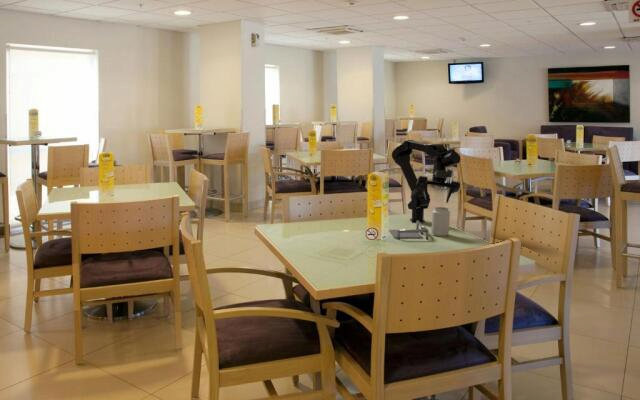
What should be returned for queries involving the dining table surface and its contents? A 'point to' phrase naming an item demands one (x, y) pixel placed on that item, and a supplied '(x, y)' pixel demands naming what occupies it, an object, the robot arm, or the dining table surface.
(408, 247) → the dining table surface
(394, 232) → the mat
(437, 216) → the can
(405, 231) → the rail
